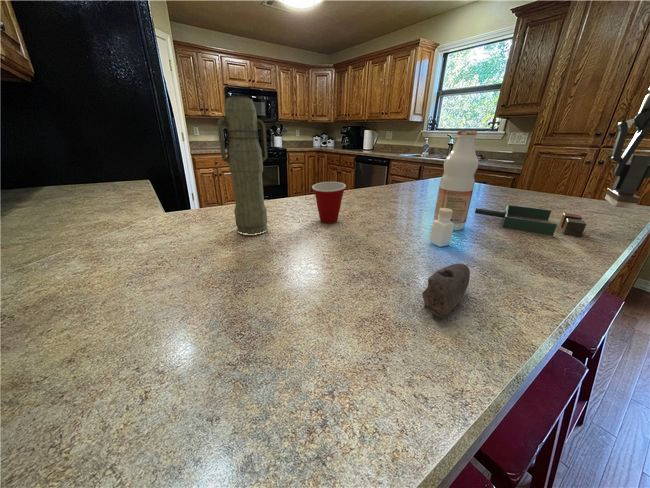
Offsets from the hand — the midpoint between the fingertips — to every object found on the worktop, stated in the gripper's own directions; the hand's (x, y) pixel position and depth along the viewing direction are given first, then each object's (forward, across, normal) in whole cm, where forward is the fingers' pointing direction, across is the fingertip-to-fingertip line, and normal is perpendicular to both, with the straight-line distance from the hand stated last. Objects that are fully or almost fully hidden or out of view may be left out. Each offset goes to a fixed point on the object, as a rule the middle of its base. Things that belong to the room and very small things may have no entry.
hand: (625, 189), depth 74 cm
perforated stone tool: (+14, +32, +62) cm, 71 cm away
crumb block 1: (+14, +8, -4) cm, 16 cm away
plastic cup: (+15, +74, +36) cm, 83 cm away
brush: (+4, 0, 0) cm, 4 cm away
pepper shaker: (+14, +39, +35) cm, 54 cm away
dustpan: (+14, +23, 0) cm, 27 cm away
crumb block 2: (+14, +8, +4) cm, 16 cm away
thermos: (+15, +87, +57) cm, 105 cm away
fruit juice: (+14, +40, +18) cm, 46 cm away
